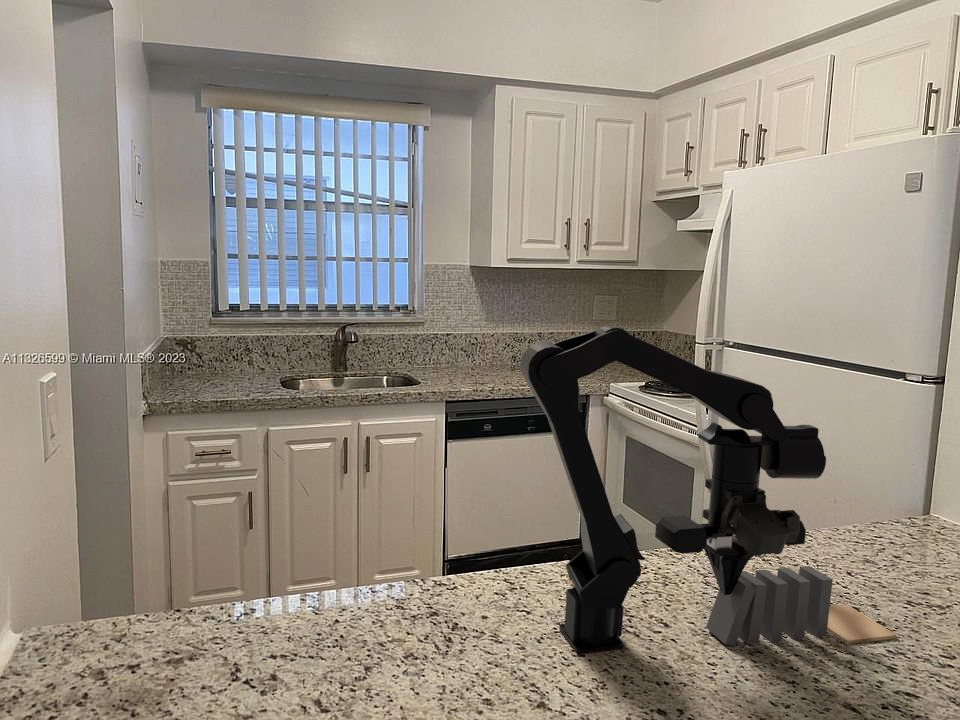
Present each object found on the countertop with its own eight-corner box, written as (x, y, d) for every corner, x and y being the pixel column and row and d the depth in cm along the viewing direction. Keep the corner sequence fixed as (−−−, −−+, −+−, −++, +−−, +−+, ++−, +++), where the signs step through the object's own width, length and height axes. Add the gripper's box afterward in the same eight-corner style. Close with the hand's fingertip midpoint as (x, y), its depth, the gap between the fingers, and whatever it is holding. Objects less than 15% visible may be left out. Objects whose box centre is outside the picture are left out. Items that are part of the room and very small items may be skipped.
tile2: (748, 644, 94) (756, 585, 93) (727, 627, 98) (735, 571, 97) (758, 643, 94) (767, 585, 93) (738, 627, 98) (746, 571, 97)
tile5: (816, 637, 96) (822, 580, 95) (793, 621, 101) (799, 566, 100) (826, 636, 97) (832, 579, 96) (803, 620, 101) (809, 565, 100)
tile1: (725, 644, 93) (746, 586, 92) (705, 627, 97) (725, 571, 96) (735, 646, 93) (756, 588, 93) (715, 629, 97) (735, 574, 97)
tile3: (771, 642, 94) (777, 584, 93) (750, 626, 99) (755, 570, 98) (781, 641, 95) (787, 583, 94) (760, 625, 99) (766, 569, 98)
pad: (846, 644, 95) (847, 640, 95) (799, 611, 103) (800, 608, 103) (896, 638, 97) (896, 634, 97) (845, 607, 106) (846, 604, 106)
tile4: (793, 640, 95) (800, 582, 94) (772, 623, 100) (777, 568, 99) (804, 638, 96) (810, 581, 95) (782, 622, 100) (787, 567, 99)
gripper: (706, 501, 82) (695, 631, 84) (843, 493, 87) (830, 616, 89) (657, 473, 93) (649, 589, 95) (782, 467, 98) (771, 578, 100)
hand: (725, 593), depth 94 cm, fingers closed
